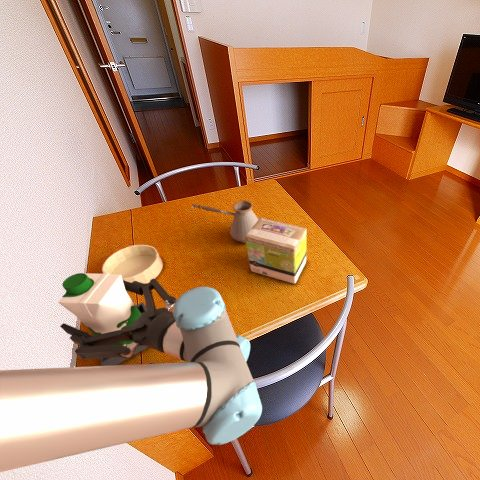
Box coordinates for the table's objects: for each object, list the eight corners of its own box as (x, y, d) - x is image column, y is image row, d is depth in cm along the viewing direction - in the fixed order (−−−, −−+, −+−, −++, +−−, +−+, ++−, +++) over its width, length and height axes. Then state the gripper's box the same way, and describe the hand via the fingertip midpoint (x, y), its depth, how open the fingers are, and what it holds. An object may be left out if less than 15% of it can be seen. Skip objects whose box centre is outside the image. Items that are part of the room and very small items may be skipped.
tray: (107, 370, 61) (100, 364, 59) (96, 334, 67) (90, 327, 65) (161, 339, 67) (157, 332, 65) (147, 308, 73) (142, 302, 71)
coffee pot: (263, 224, 103) (259, 189, 93) (265, 245, 94) (260, 208, 84) (203, 230, 99) (192, 194, 89) (199, 252, 90) (187, 215, 81)
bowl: (116, 297, 76) (108, 287, 73) (104, 268, 83) (97, 258, 81) (169, 273, 83) (164, 263, 80) (154, 249, 91) (149, 238, 88)
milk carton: (120, 319, 70) (78, 263, 57) (155, 320, 70) (121, 265, 57) (98, 352, 63) (45, 298, 50) (138, 353, 63) (94, 299, 50)
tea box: (249, 272, 84) (242, 235, 75) (264, 251, 91) (260, 215, 82) (295, 285, 81) (294, 248, 71) (307, 262, 88) (307, 226, 79)
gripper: (134, 403, 49) (47, 363, 54) (215, 300, 67) (144, 276, 72) (115, 386, 44) (21, 343, 49) (208, 279, 62) (132, 256, 67)
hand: (94, 304), depth 60 cm, fingers open, 12 cm apart
